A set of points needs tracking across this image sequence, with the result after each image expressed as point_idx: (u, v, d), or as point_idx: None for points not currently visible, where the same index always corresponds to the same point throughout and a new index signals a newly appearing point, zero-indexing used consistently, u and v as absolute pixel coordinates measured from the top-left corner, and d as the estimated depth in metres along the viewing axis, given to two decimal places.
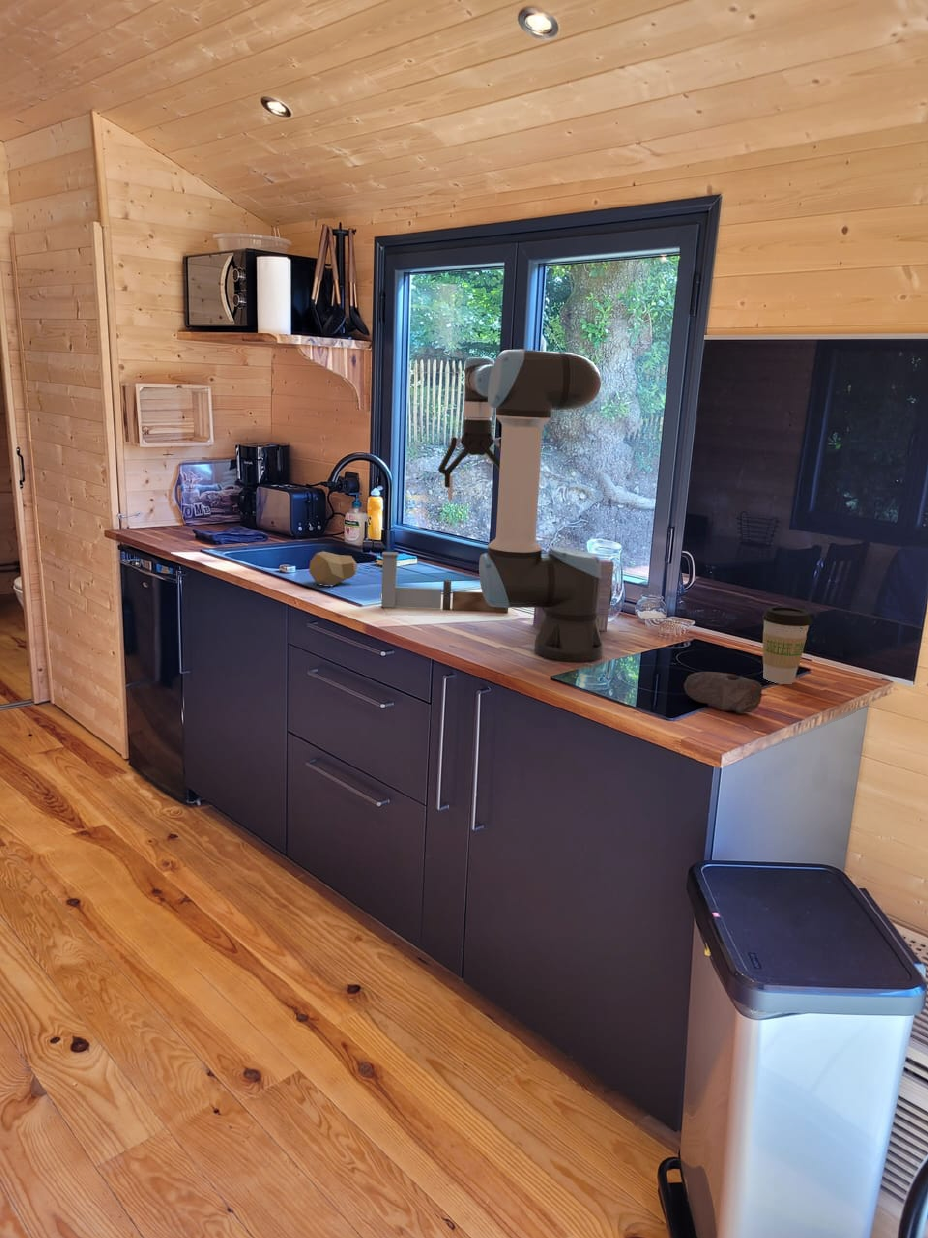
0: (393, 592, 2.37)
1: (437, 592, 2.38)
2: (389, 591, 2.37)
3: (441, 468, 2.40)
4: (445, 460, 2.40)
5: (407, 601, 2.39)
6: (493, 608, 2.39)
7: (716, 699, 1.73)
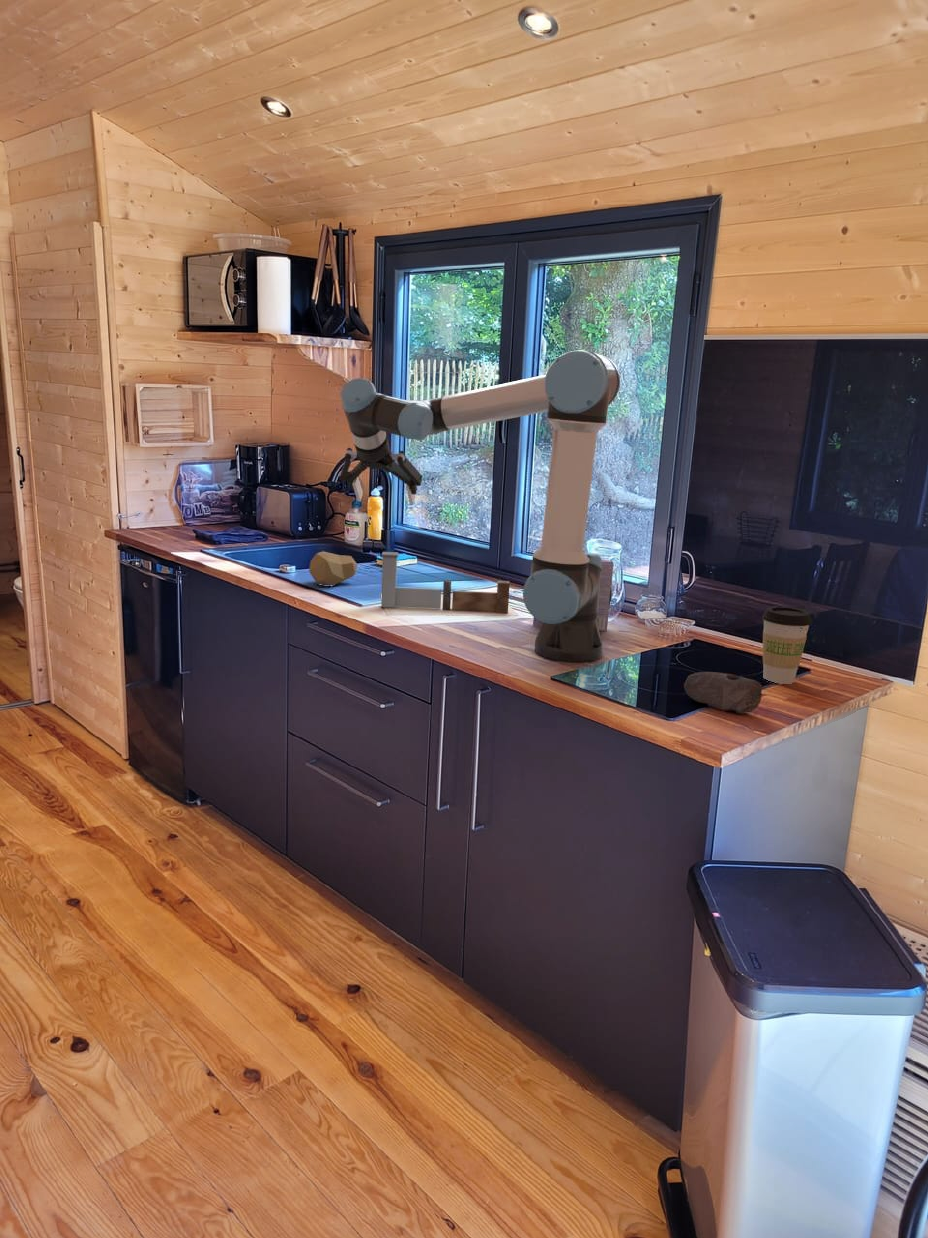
0: (393, 592, 2.37)
1: (437, 592, 2.38)
2: (389, 591, 2.37)
3: (341, 477, 2.19)
4: (343, 472, 2.17)
5: (407, 601, 2.39)
6: (493, 608, 2.39)
7: (716, 699, 1.73)
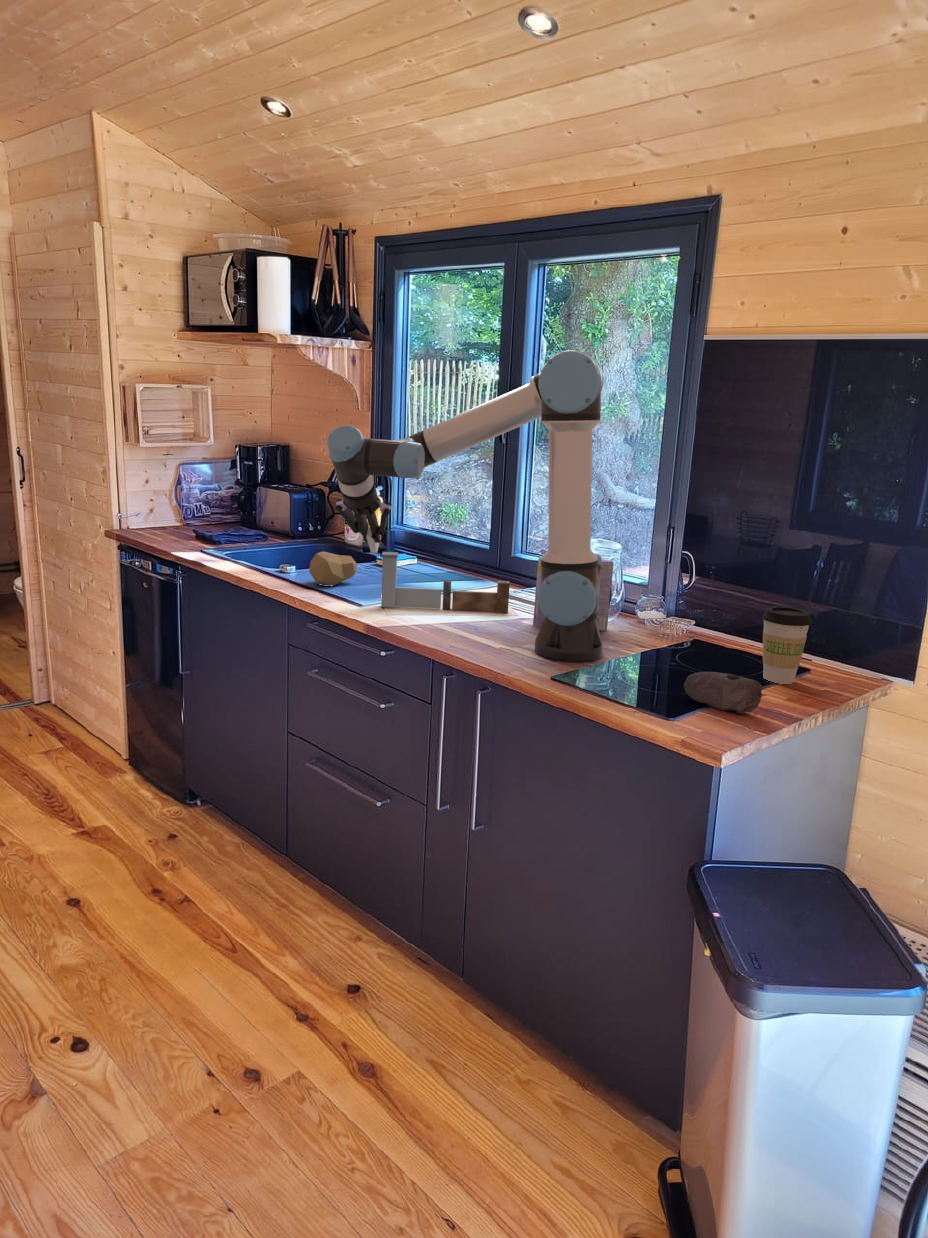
0: (393, 592, 2.37)
1: (437, 592, 2.38)
2: (389, 591, 2.37)
3: (354, 530, 2.14)
4: (349, 524, 2.12)
5: (407, 601, 2.39)
6: (493, 608, 2.39)
7: (716, 699, 1.73)
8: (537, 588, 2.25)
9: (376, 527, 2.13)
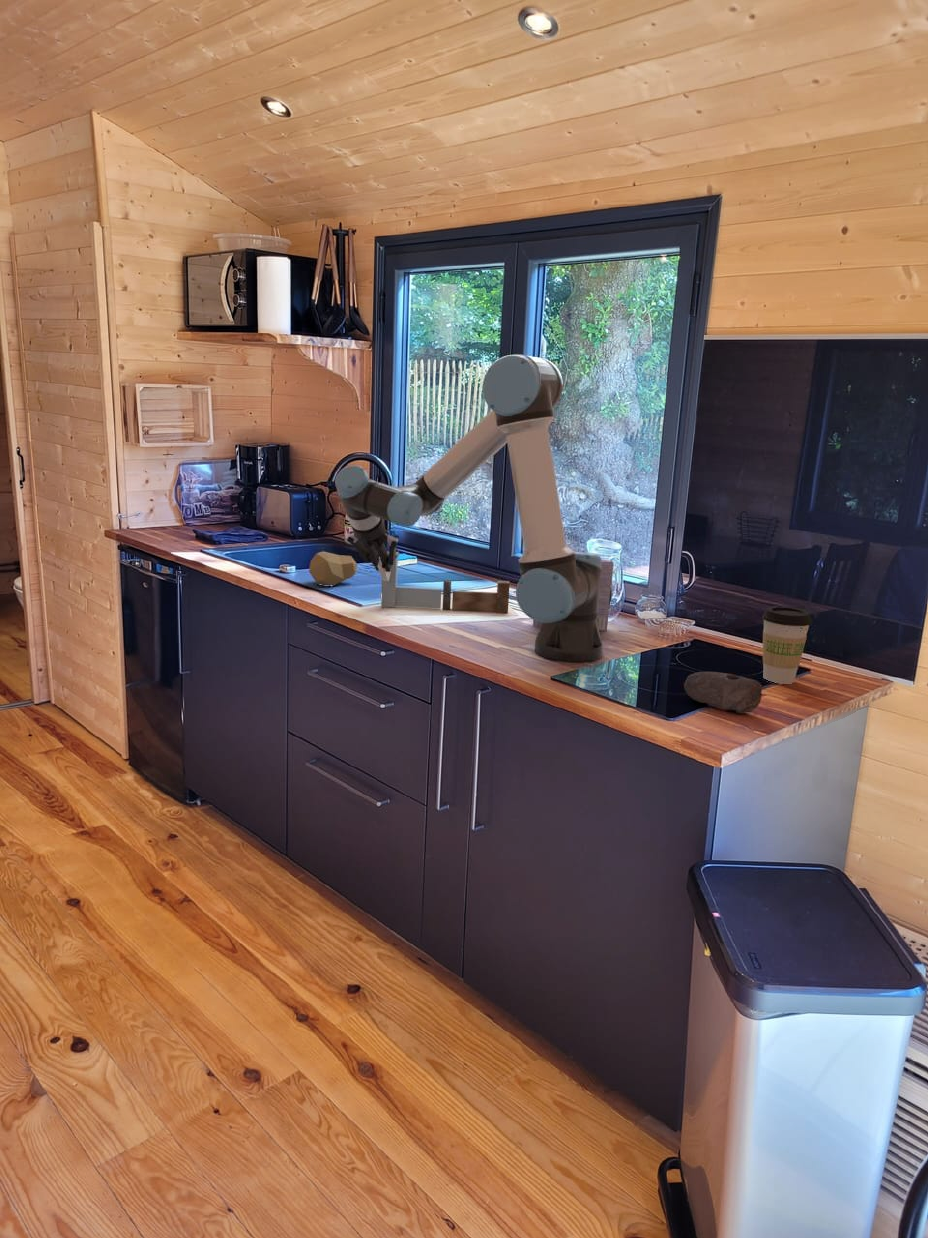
0: (393, 591, 2.38)
1: (437, 592, 2.38)
2: (389, 590, 2.38)
3: (365, 560, 2.29)
4: (361, 554, 2.27)
5: (407, 601, 2.39)
6: (493, 608, 2.39)
7: (716, 698, 1.73)
8: None
9: (386, 557, 2.27)
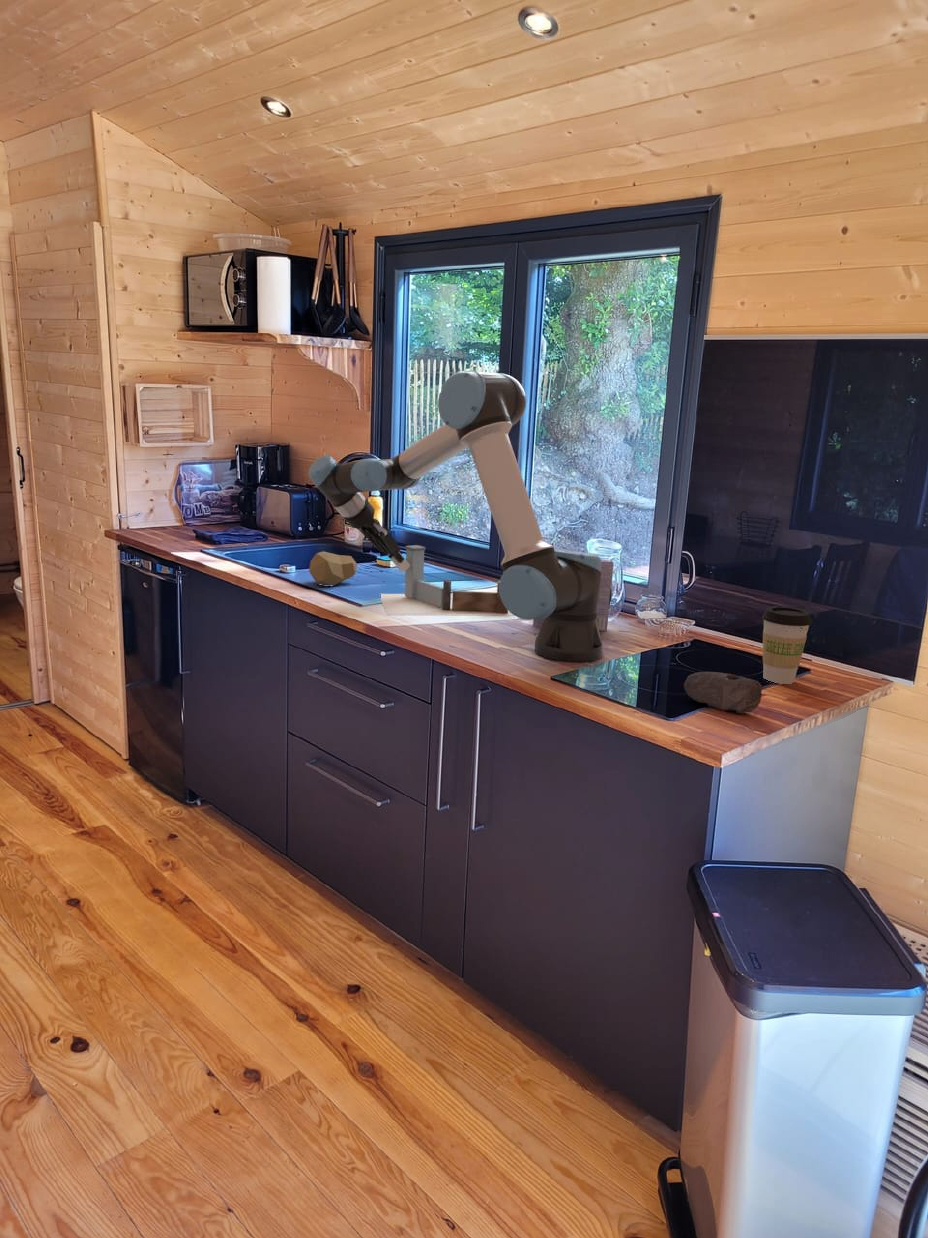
0: (411, 583, 2.48)
1: (439, 590, 2.40)
2: (409, 582, 2.49)
3: (378, 549, 2.45)
4: (372, 543, 2.44)
5: (422, 595, 2.47)
6: (493, 608, 2.39)
7: (716, 699, 1.73)
8: None
9: None
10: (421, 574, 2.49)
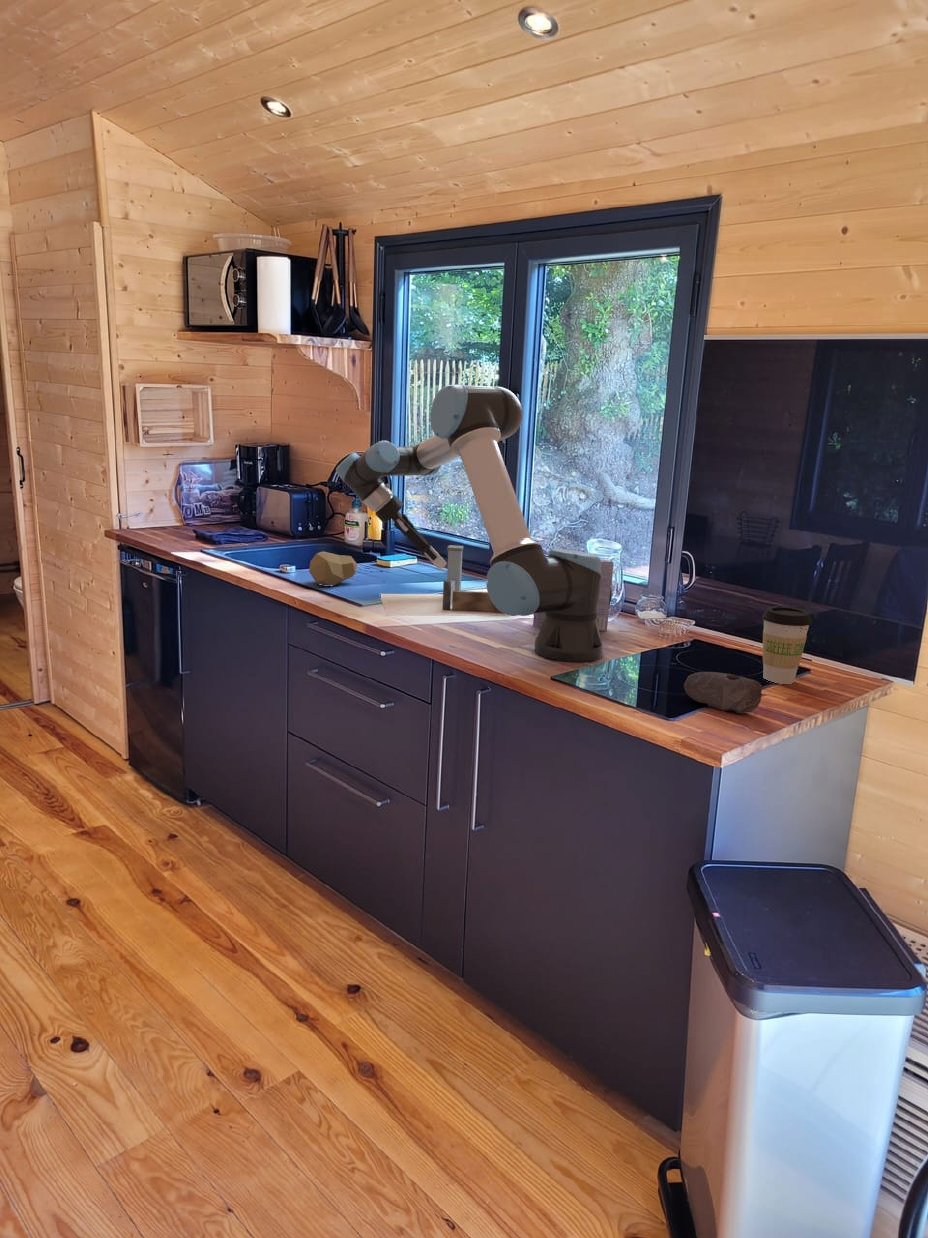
0: None
1: None
2: None
3: None
4: None
5: None
6: (493, 608, 2.39)
7: (716, 699, 1.73)
8: None
9: None
10: (457, 574, 2.51)
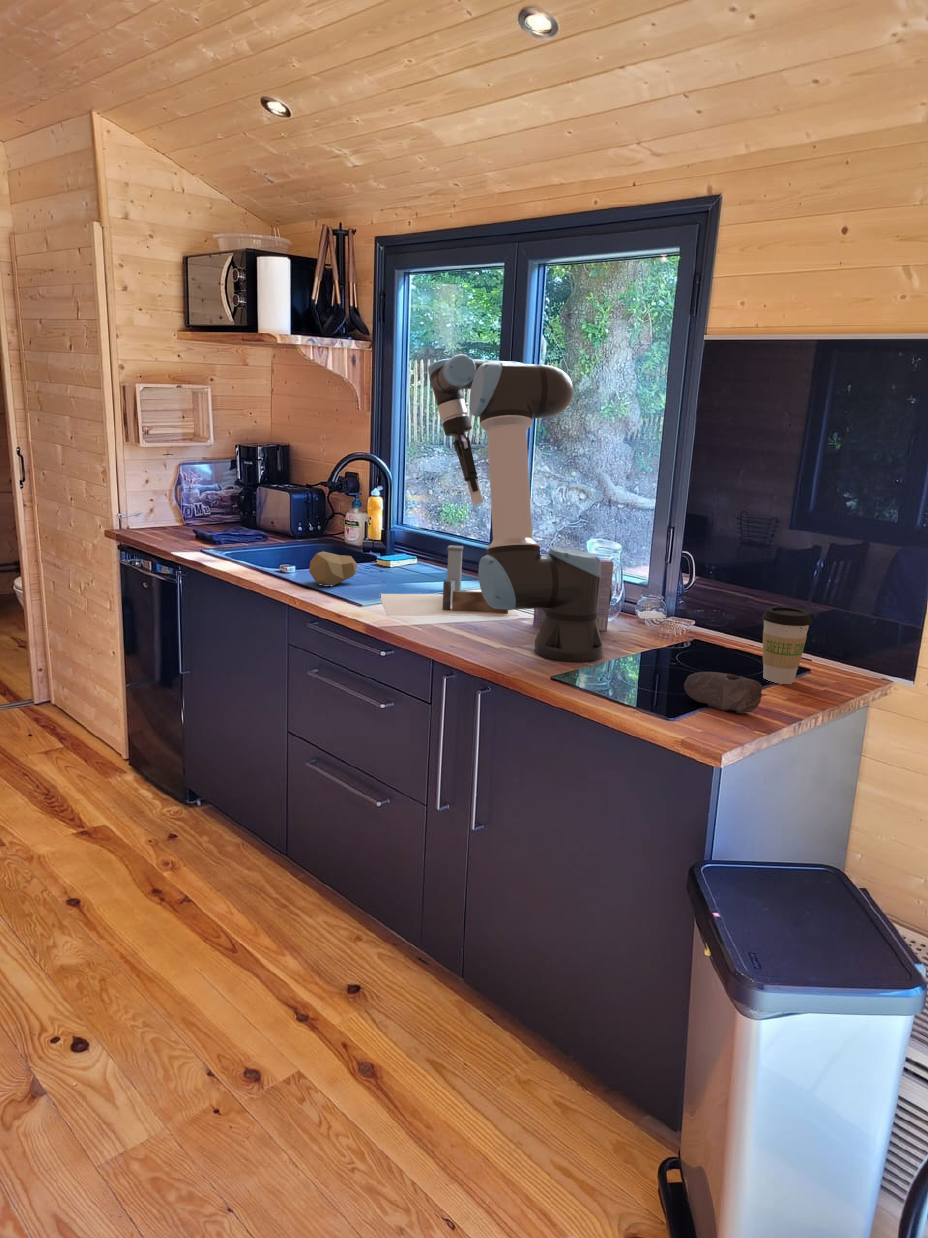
0: None
1: None
2: None
3: (464, 476, 2.52)
4: None
5: None
6: (493, 608, 2.39)
7: (716, 699, 1.73)
8: None
9: None
10: (457, 574, 2.51)
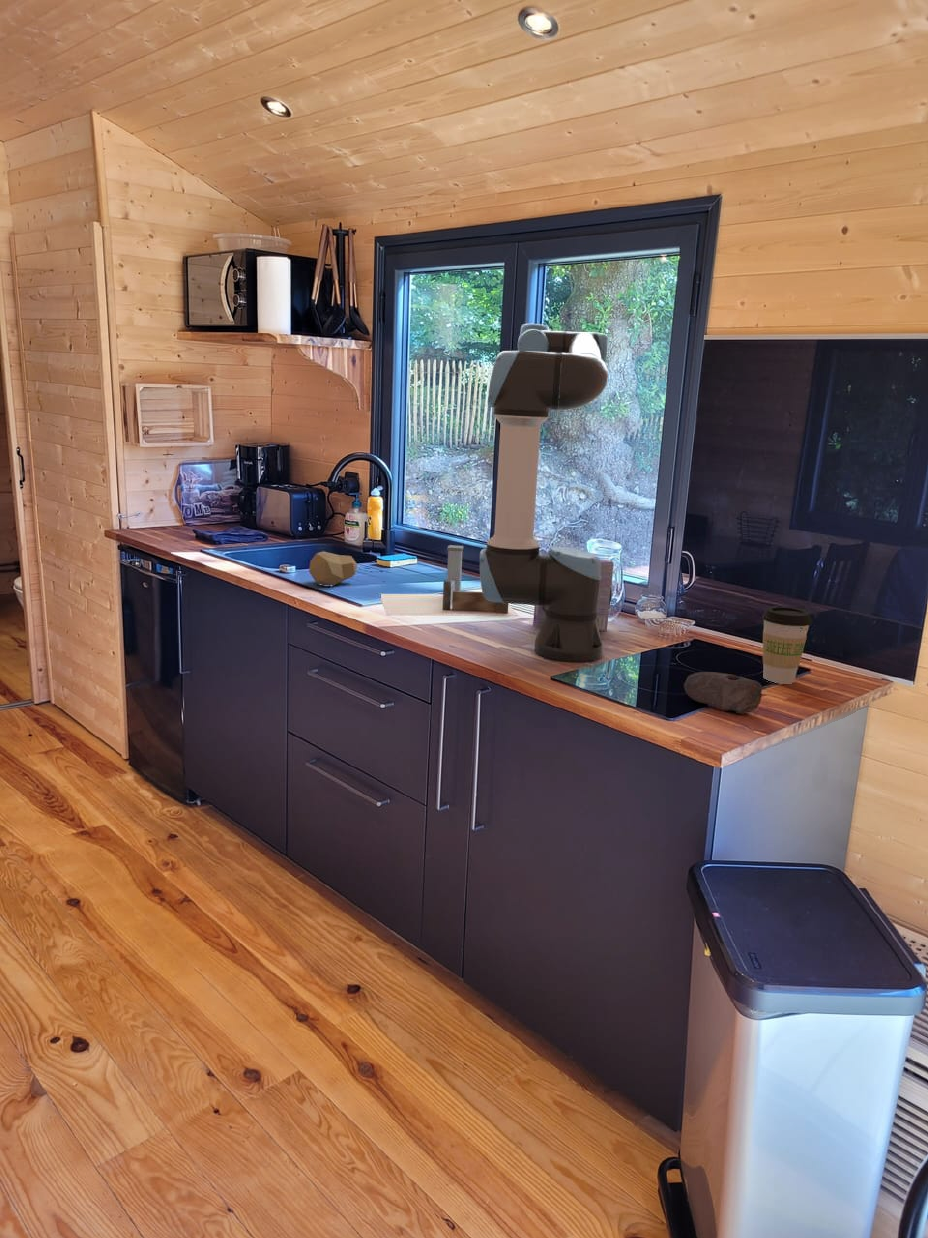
0: None
1: None
2: None
3: None
4: None
5: None
6: (493, 608, 2.39)
7: (716, 699, 1.73)
8: None
9: None
10: (457, 574, 2.51)
